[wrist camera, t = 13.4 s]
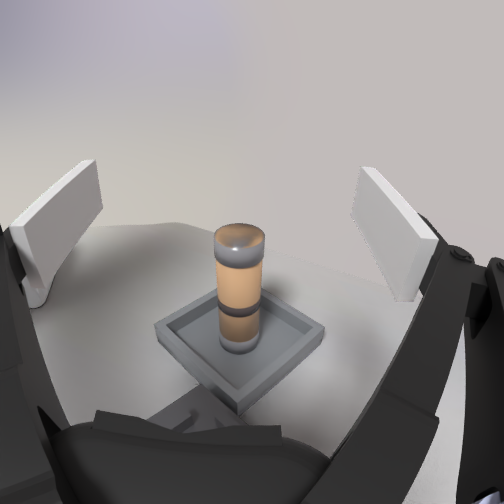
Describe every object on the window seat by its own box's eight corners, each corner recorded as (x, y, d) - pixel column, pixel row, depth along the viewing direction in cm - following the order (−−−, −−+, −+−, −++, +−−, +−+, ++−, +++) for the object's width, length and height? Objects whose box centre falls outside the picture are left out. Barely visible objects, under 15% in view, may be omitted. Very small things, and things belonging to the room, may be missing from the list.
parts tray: (158, 341, 37) (153, 324, 36) (240, 291, 46) (240, 274, 44) (237, 416, 29) (237, 402, 28) (320, 343, 38) (325, 327, 36)
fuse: (211, 338, 37) (203, 234, 29) (239, 320, 40) (240, 218, 32) (238, 361, 34) (238, 255, 26) (266, 339, 37) (275, 236, 29)
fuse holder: (127, 449, 25) (111, 429, 22) (204, 398, 31) (199, 373, 28) (210, 540, 18) (204, 536, 15) (291, 472, 24) (299, 455, 21)
